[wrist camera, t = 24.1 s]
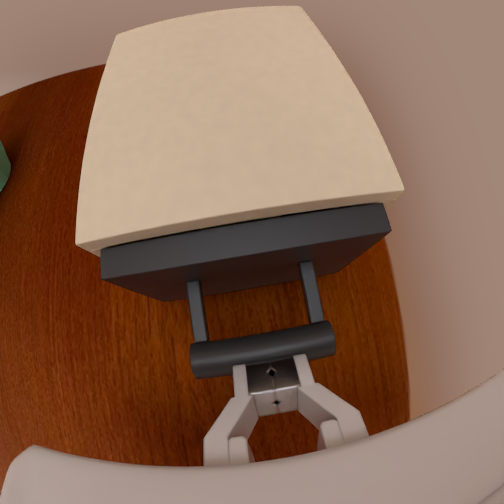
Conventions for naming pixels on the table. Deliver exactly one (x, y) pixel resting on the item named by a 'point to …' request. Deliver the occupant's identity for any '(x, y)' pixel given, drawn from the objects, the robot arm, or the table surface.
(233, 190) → the beige cabinet housing
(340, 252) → the drawer
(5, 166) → the mug
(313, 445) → the table surface
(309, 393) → the robot arm
